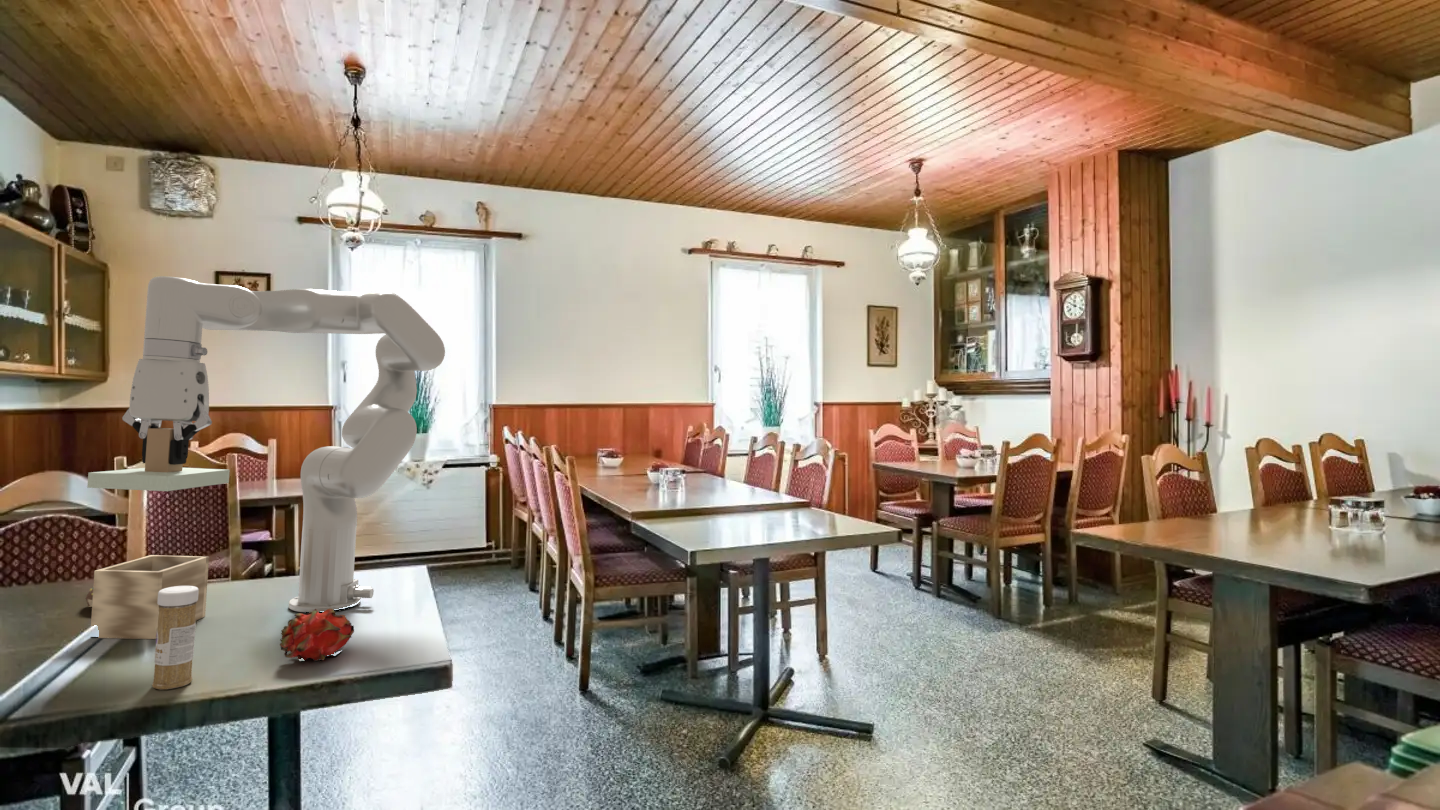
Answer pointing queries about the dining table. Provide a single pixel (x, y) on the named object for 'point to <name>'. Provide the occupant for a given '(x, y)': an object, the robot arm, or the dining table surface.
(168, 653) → the sprinkles bottle
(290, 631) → the dragon fruit
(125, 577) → the pine box
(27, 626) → the dining table surface
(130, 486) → the lid
